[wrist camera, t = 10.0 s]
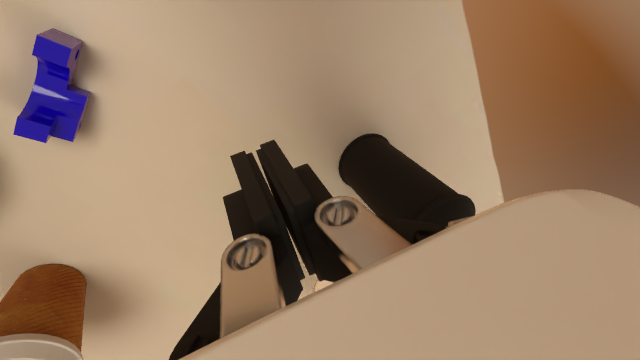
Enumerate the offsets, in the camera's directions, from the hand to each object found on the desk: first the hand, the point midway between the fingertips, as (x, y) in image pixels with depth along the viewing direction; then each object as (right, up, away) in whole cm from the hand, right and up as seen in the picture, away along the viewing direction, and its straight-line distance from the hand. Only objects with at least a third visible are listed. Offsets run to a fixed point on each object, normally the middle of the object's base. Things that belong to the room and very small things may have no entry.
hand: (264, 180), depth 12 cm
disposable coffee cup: (-28, -12, +24) cm, 39 cm away
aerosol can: (+8, +3, +33) cm, 34 cm away
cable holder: (-20, +8, +16) cm, 27 cm away
